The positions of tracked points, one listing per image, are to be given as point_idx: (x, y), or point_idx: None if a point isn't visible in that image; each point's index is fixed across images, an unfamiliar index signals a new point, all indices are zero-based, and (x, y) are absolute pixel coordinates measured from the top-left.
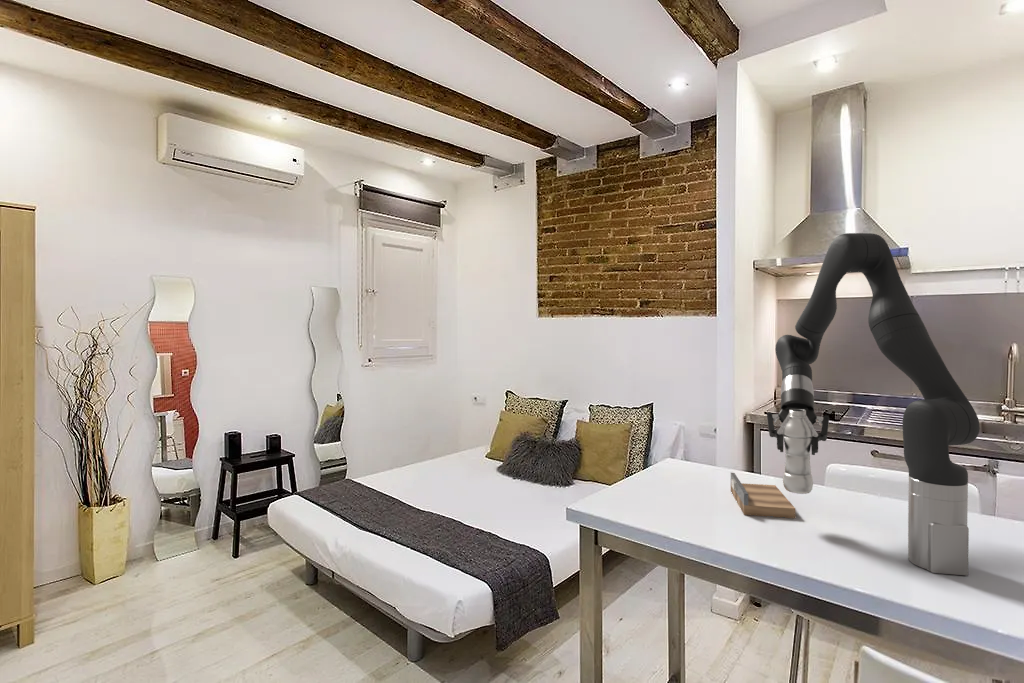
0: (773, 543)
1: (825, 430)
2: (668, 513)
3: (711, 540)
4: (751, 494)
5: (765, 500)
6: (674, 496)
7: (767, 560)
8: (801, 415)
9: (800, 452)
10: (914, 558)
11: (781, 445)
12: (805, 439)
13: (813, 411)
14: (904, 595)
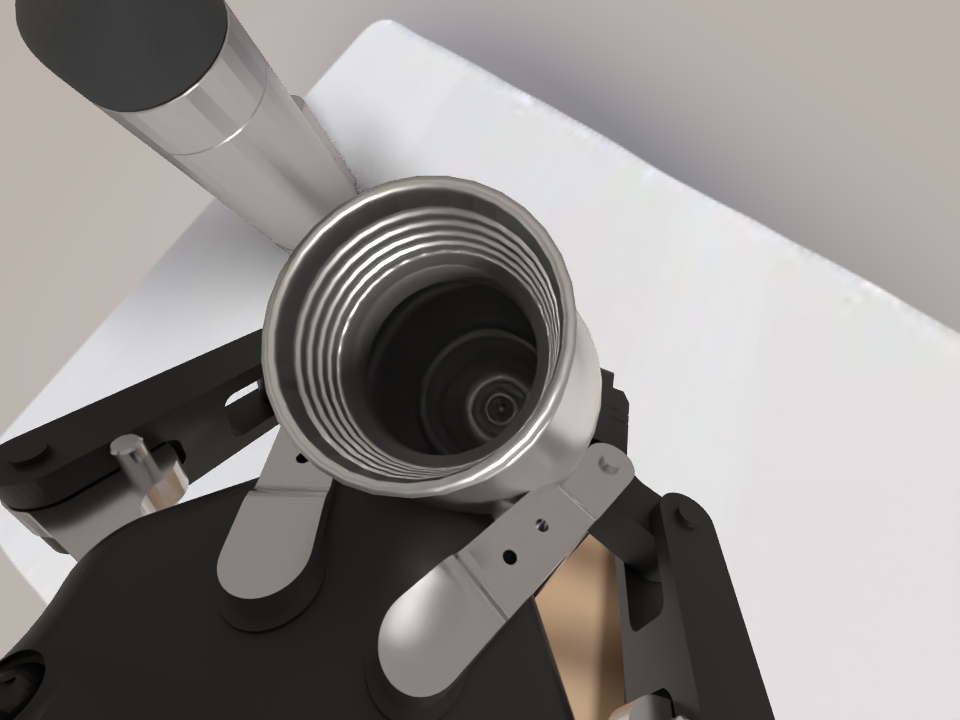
0: (615, 285)
1: (236, 351)
2: (905, 498)
3: (778, 285)
4: (587, 640)
5: None
6: (878, 716)
7: (660, 190)
8: (427, 219)
9: (499, 325)
10: None
11: (604, 374)
12: (460, 286)
13: (13, 649)
14: (458, 93)
